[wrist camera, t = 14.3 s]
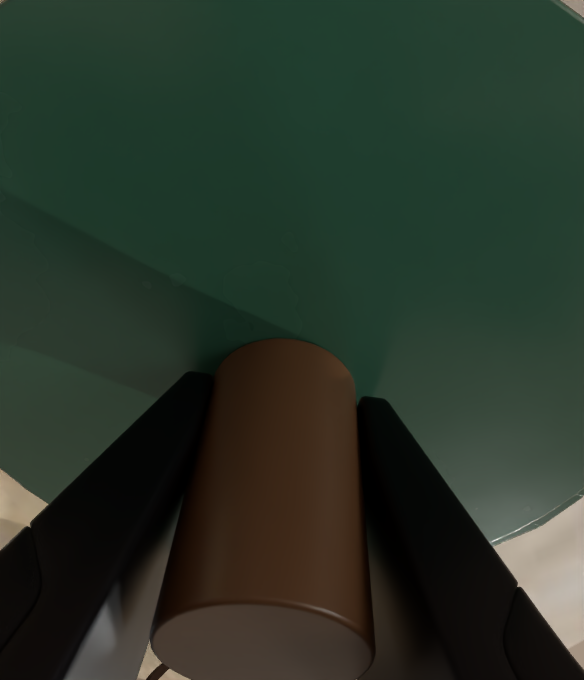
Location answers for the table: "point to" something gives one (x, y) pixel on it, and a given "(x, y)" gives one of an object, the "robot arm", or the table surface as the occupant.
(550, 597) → the table surface
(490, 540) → the lid
